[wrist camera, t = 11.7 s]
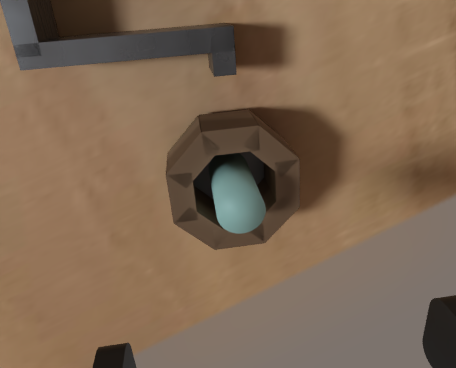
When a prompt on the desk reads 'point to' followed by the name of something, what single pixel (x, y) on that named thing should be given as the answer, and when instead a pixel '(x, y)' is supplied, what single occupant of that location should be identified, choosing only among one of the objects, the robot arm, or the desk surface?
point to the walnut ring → (228, 144)
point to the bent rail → (110, 41)
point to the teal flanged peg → (234, 190)
